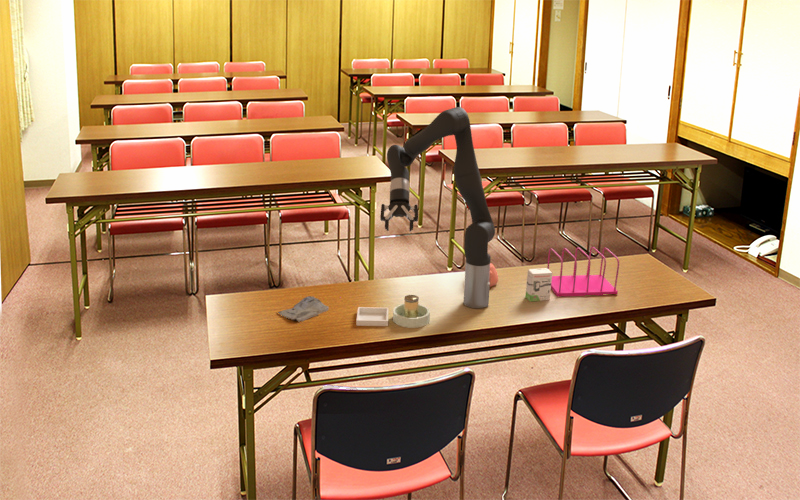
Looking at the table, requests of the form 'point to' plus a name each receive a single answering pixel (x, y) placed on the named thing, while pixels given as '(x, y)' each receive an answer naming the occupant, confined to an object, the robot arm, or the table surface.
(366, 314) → the parts tray
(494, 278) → the teapot
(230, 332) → the table surface
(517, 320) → the table surface
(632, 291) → the table surface
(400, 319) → the bowl
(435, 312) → the table surface
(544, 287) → the ink box
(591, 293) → the file sorter
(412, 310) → the glass jar with lid
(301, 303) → the fossil rock
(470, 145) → the robot arm
